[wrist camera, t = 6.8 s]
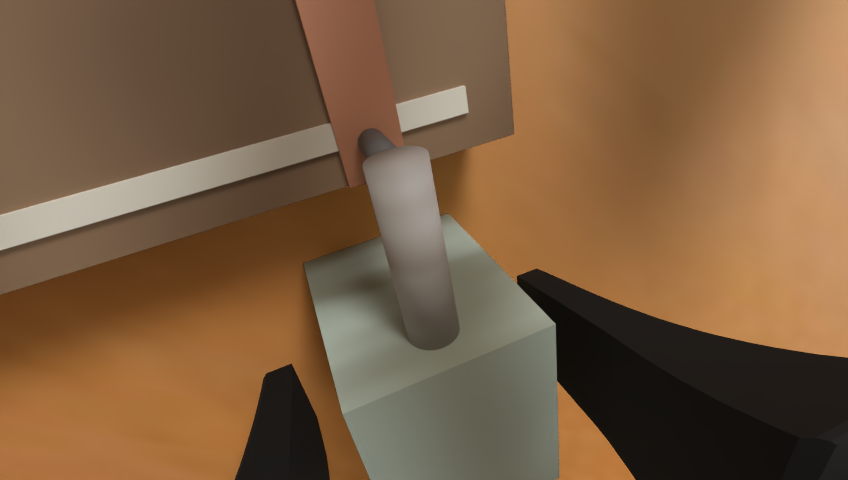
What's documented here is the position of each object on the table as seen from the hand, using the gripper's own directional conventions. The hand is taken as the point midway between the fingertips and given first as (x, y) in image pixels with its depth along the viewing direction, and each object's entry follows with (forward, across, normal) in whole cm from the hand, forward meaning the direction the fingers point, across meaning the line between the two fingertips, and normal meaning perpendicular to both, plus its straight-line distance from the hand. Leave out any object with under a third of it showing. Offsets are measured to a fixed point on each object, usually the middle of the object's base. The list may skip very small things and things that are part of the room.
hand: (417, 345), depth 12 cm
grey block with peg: (+2, 0, -2) cm, 2 cm away
